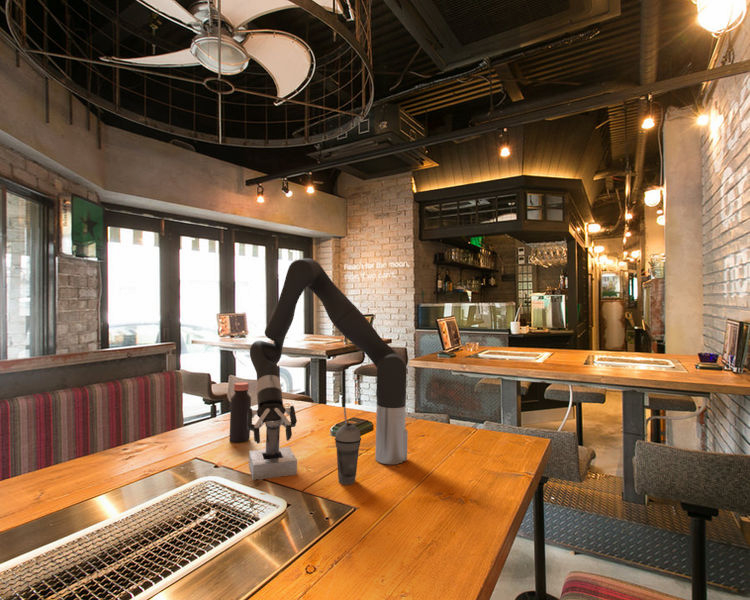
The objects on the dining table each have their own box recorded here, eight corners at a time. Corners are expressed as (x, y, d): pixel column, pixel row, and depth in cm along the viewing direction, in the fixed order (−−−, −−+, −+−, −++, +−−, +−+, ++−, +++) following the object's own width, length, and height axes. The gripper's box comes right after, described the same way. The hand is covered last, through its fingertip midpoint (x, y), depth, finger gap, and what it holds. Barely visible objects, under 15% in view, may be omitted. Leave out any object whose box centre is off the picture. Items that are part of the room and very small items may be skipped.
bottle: (253, 439, 144) (255, 383, 144) (238, 444, 138) (240, 386, 139) (241, 435, 147) (242, 381, 148) (225, 440, 142) (227, 383, 142)
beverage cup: (356, 488, 106) (358, 412, 107) (330, 485, 108) (332, 410, 108) (362, 477, 114) (364, 406, 114) (338, 474, 115) (339, 404, 116)
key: (278, 465, 121) (279, 418, 121) (280, 471, 117) (282, 422, 117) (263, 467, 119) (264, 419, 119) (265, 473, 115) (266, 423, 115)
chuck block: (288, 459, 126) (289, 446, 126) (296, 474, 114) (297, 460, 115) (248, 464, 121) (249, 450, 121) (252, 480, 110) (253, 465, 110)
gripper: (247, 387, 123) (249, 436, 112) (293, 385, 128) (300, 432, 117) (244, 401, 127) (246, 449, 116) (290, 398, 133) (296, 444, 122)
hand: (273, 440), depth 117 cm, fingers open, 8 cm apart
